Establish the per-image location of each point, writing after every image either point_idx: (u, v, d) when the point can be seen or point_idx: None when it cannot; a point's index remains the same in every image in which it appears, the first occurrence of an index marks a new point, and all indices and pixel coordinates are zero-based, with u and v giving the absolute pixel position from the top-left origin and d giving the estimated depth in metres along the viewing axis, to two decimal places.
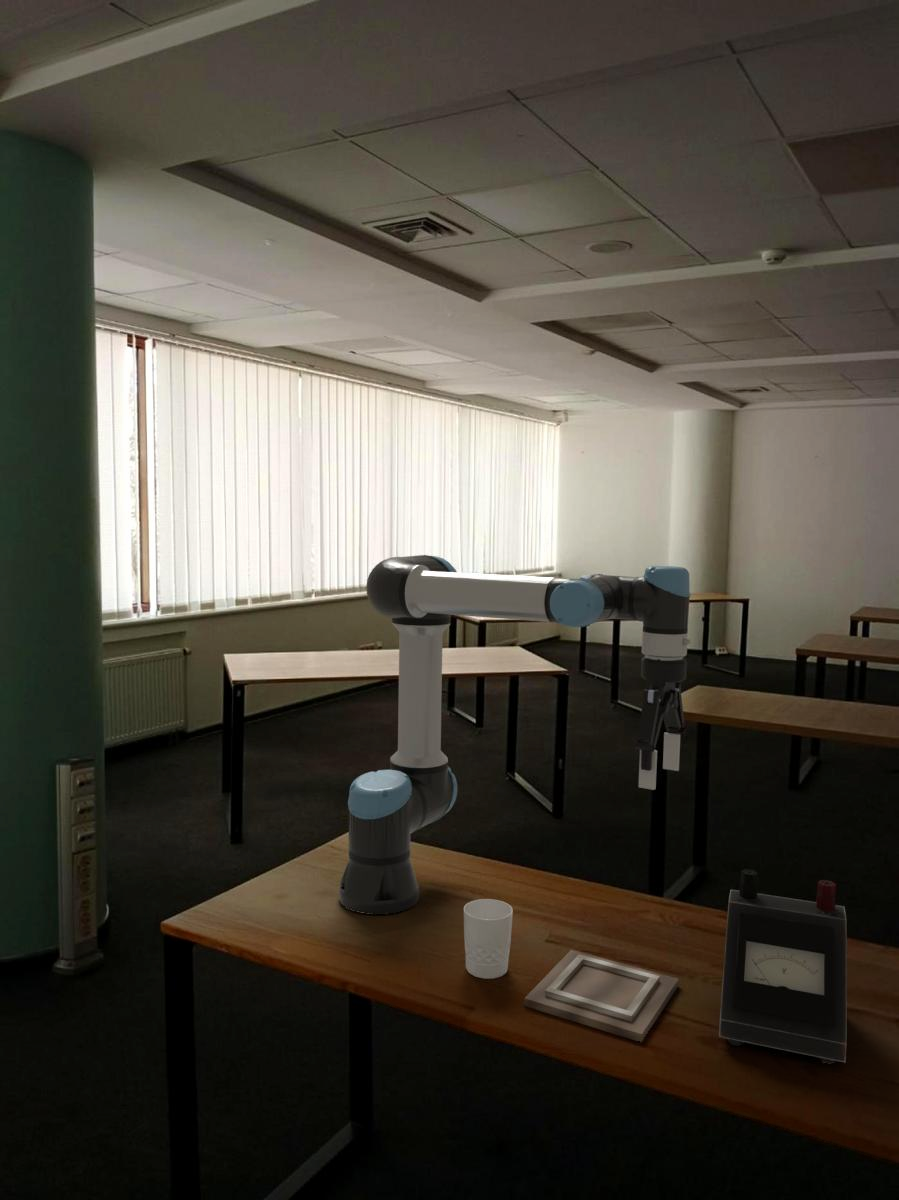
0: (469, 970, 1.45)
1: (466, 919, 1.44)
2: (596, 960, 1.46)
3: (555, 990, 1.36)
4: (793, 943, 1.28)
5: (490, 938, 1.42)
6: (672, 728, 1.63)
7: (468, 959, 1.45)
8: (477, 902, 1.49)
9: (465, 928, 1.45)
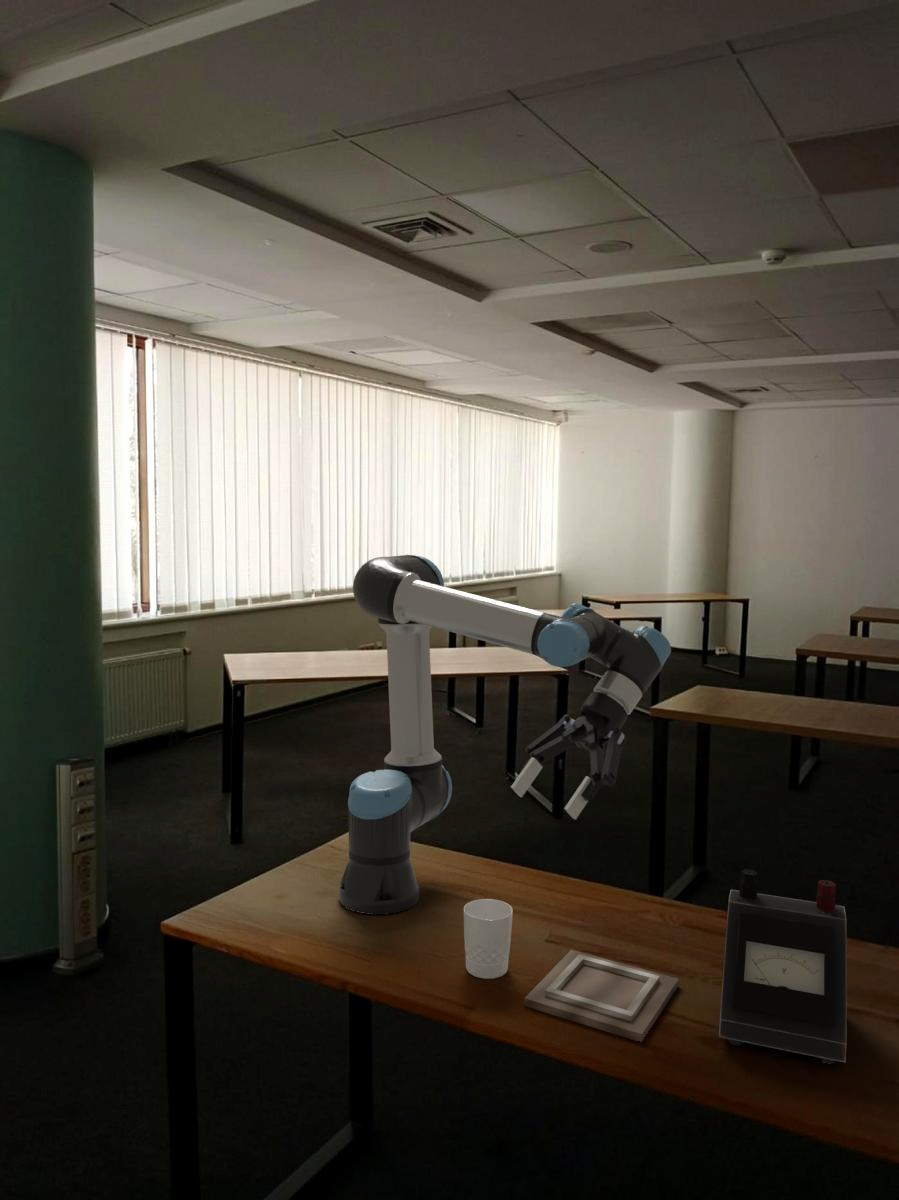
0: (469, 970, 1.45)
1: (466, 919, 1.44)
2: (596, 960, 1.46)
3: (555, 990, 1.36)
4: (793, 943, 1.28)
5: (490, 938, 1.42)
6: (538, 757, 1.59)
7: (468, 959, 1.45)
8: (477, 902, 1.49)
9: (465, 928, 1.45)
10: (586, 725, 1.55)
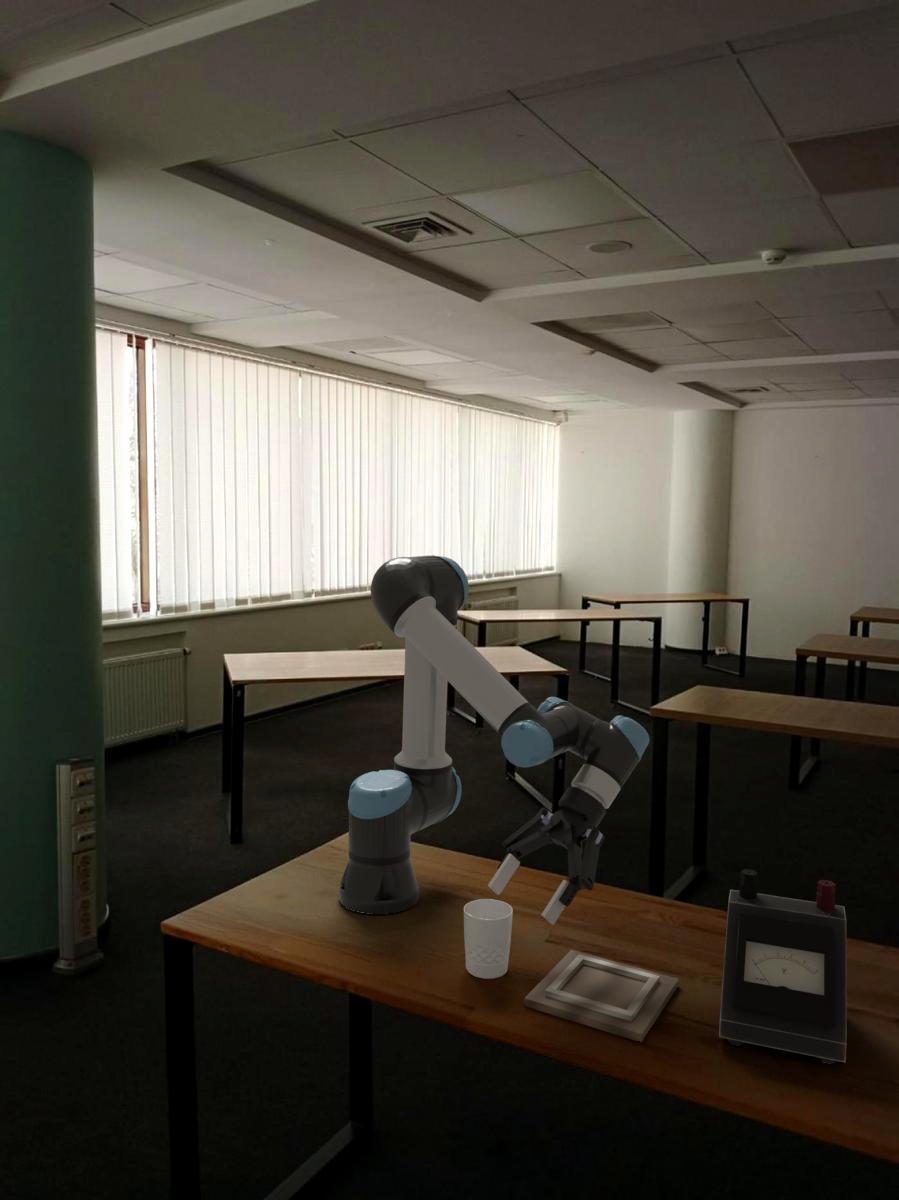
0: (469, 970, 1.45)
1: (466, 919, 1.44)
2: (596, 960, 1.46)
3: (555, 990, 1.36)
4: (793, 943, 1.28)
5: (490, 938, 1.42)
6: (515, 852, 1.56)
7: (468, 959, 1.45)
8: (477, 902, 1.49)
9: (465, 928, 1.45)
10: (564, 821, 1.53)
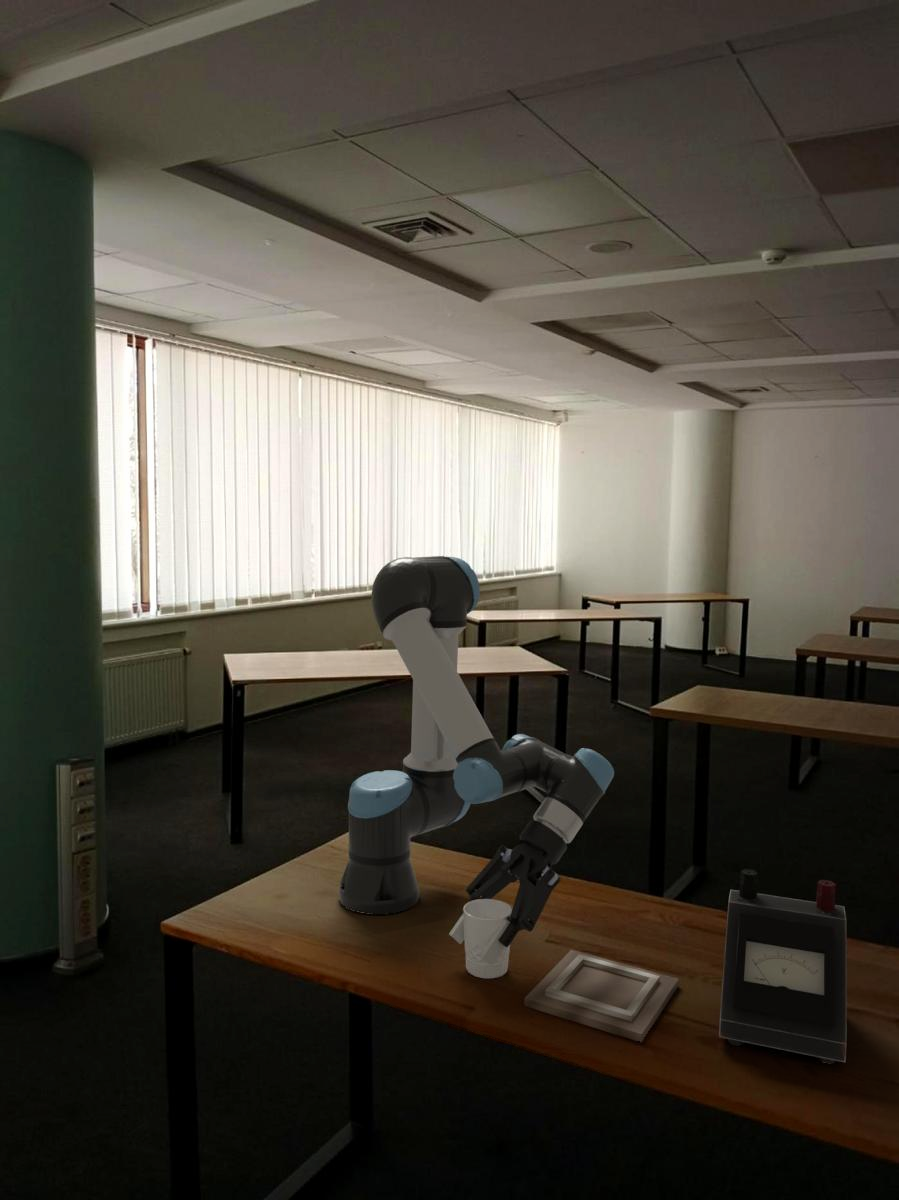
0: (469, 970, 1.45)
1: (466, 919, 1.44)
2: (596, 960, 1.46)
3: (555, 990, 1.36)
4: (793, 943, 1.28)
5: (490, 938, 1.42)
6: None
7: (468, 959, 1.45)
8: (476, 901, 1.49)
9: (465, 928, 1.45)
10: (526, 852, 1.50)
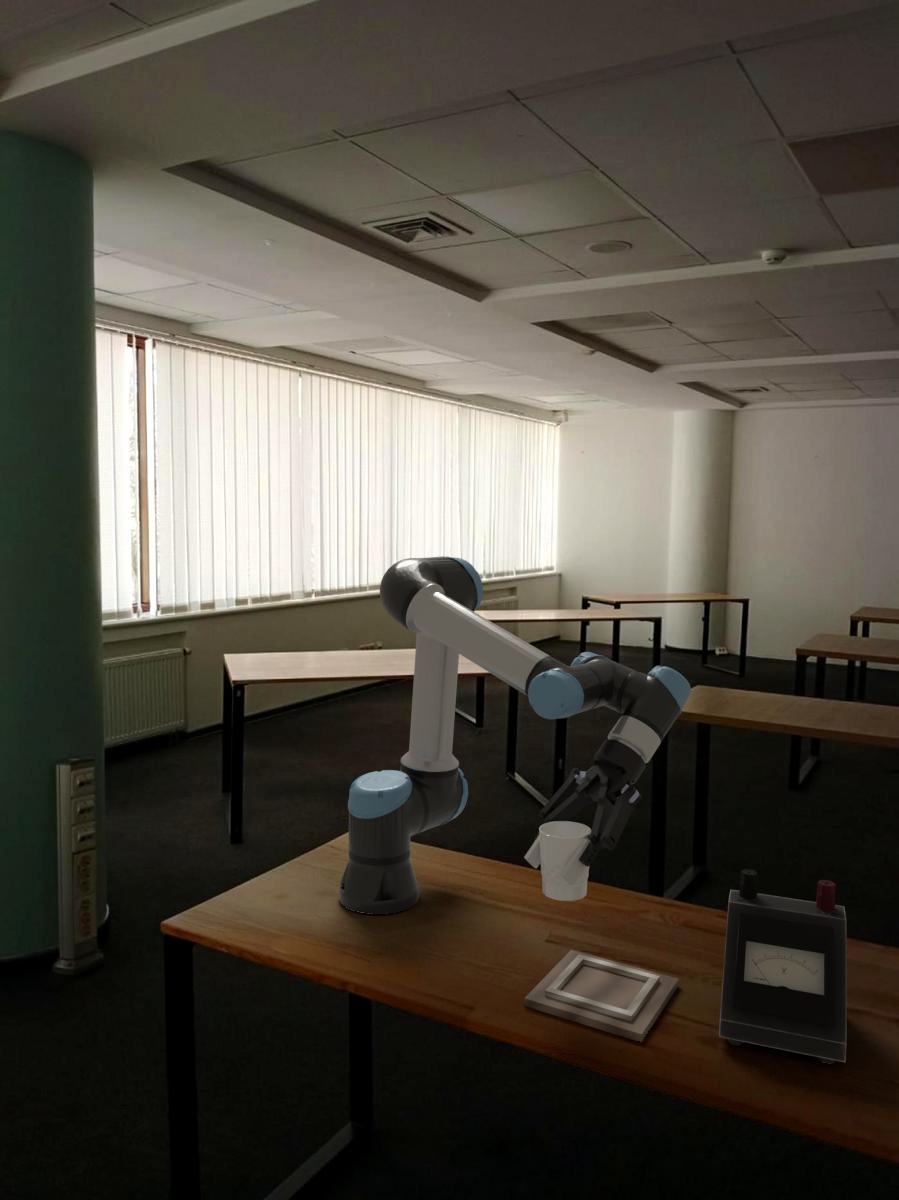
0: (547, 893, 1.38)
1: (543, 839, 1.37)
2: (596, 960, 1.46)
3: (555, 990, 1.36)
4: (793, 943, 1.28)
5: (570, 857, 1.35)
6: None
7: (545, 882, 1.38)
8: (551, 824, 1.42)
9: (542, 849, 1.38)
10: (602, 772, 1.43)
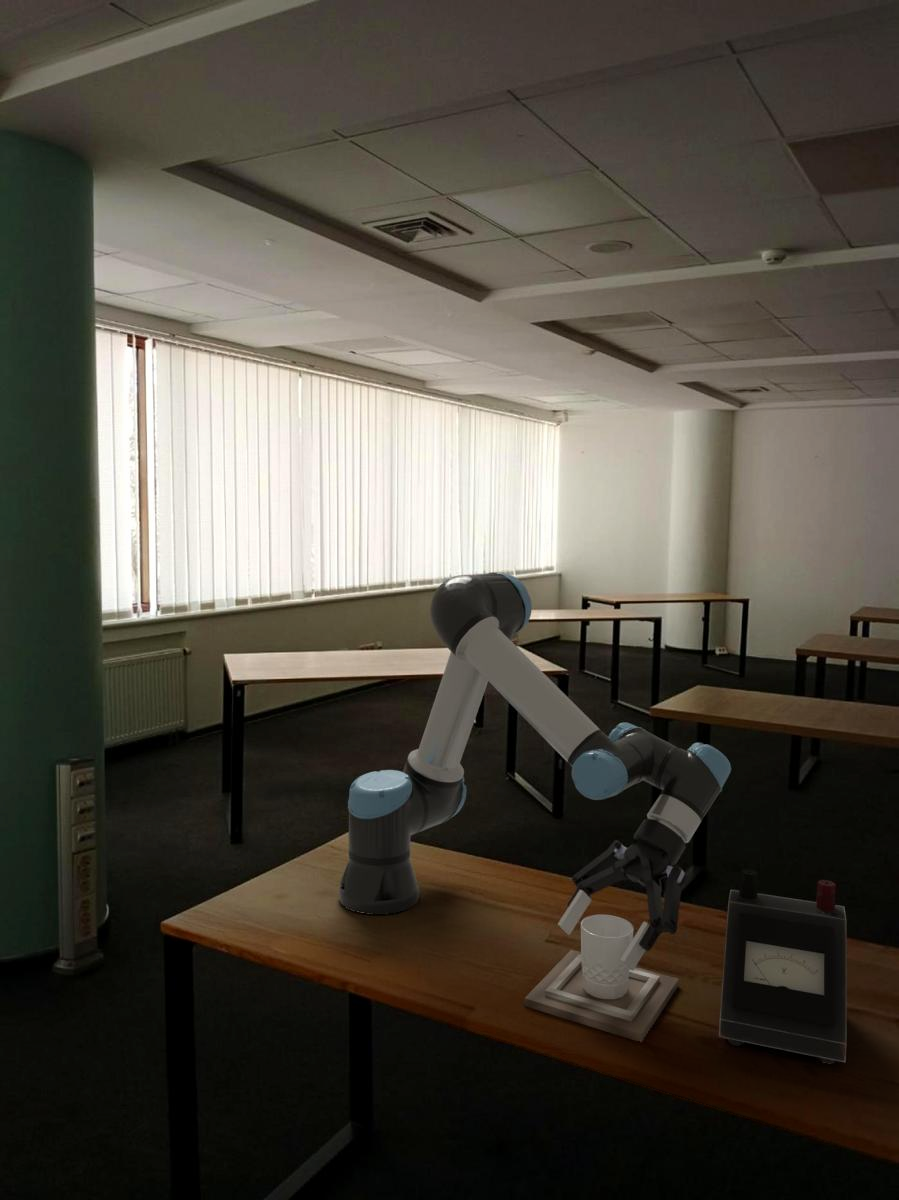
0: (587, 990, 1.37)
1: (585, 937, 1.36)
2: None
3: (555, 990, 1.36)
4: (793, 943, 1.28)
5: (612, 957, 1.34)
6: (586, 888, 1.45)
7: (586, 978, 1.37)
8: (592, 917, 1.41)
9: (583, 946, 1.37)
10: (640, 856, 1.42)
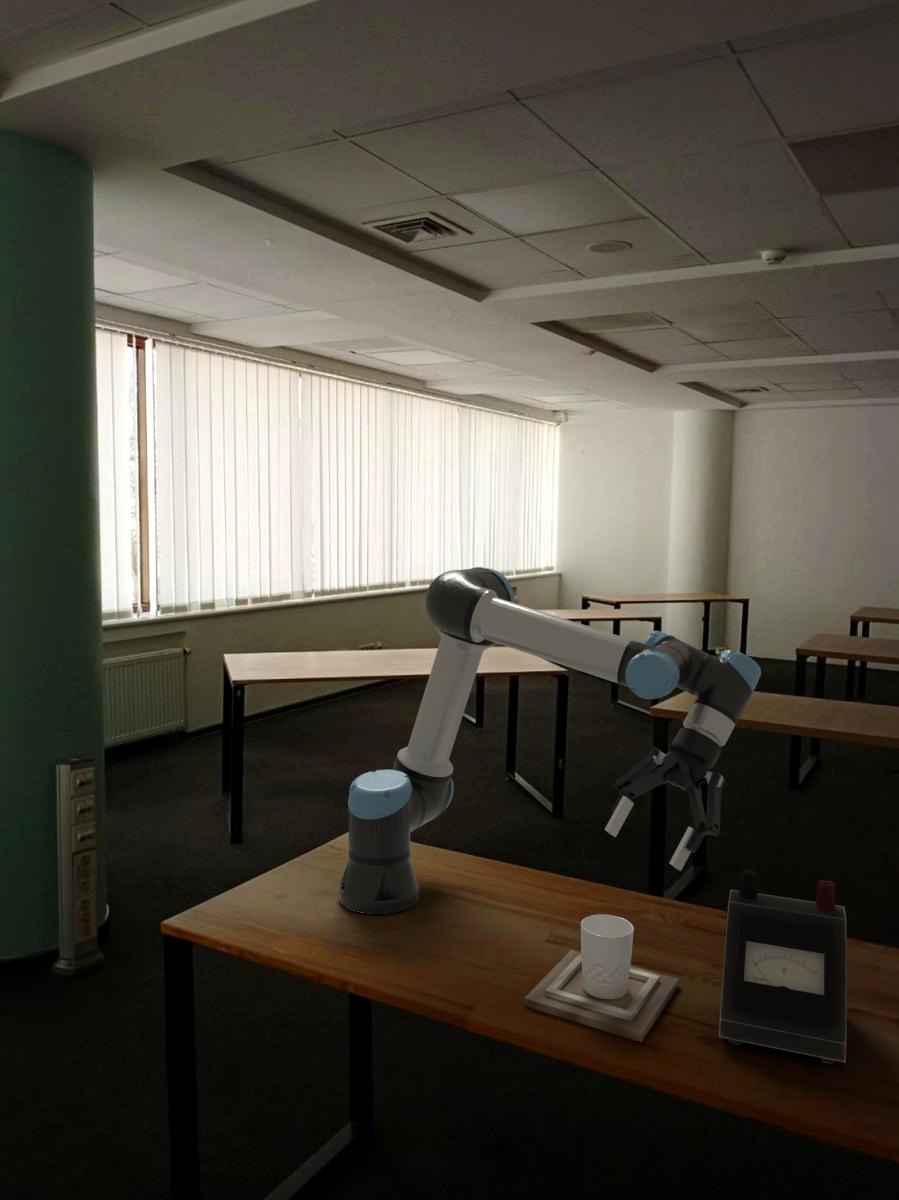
0: (587, 990, 1.37)
1: (585, 936, 1.36)
2: None
3: (555, 990, 1.36)
4: (793, 943, 1.28)
5: (612, 956, 1.34)
6: (629, 794, 1.54)
7: (586, 978, 1.37)
8: (593, 917, 1.41)
9: (583, 945, 1.37)
10: (679, 763, 1.50)
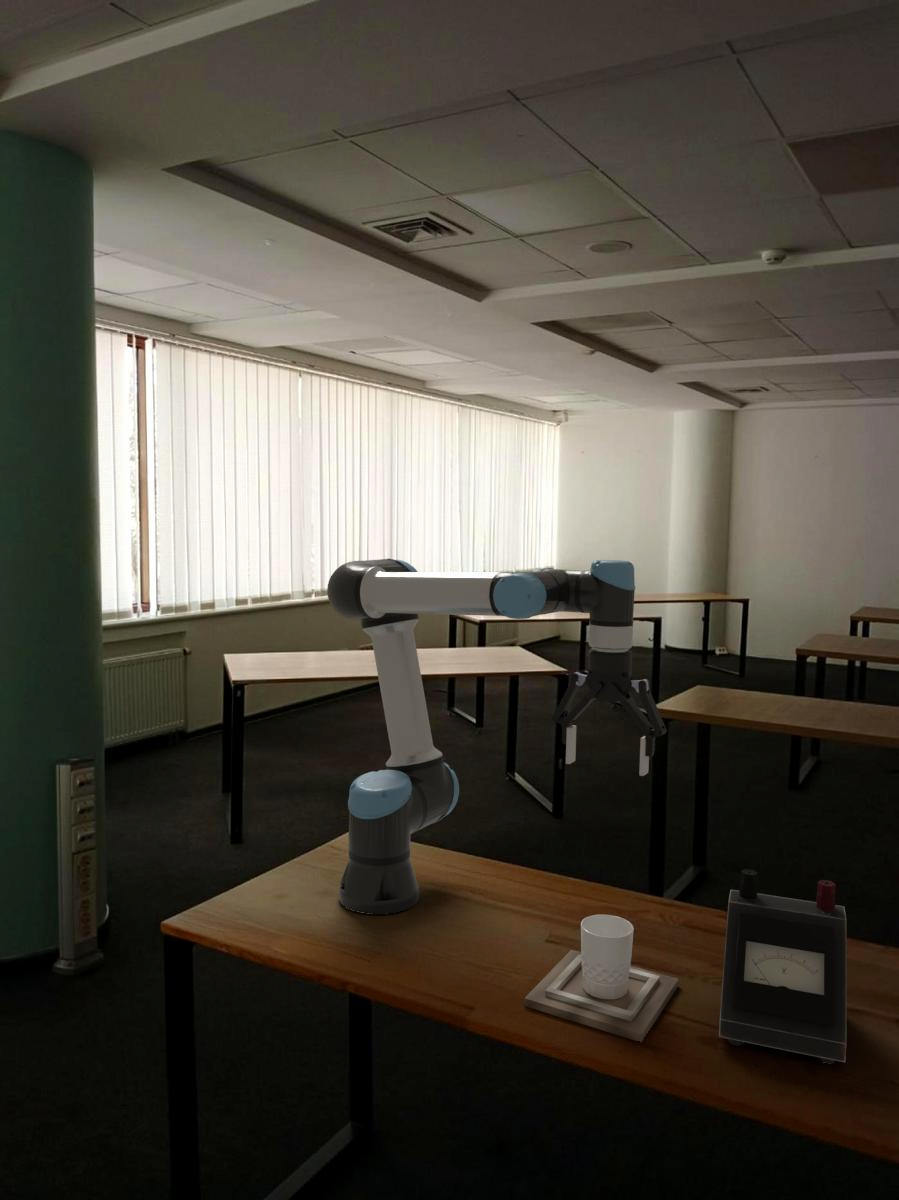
0: (587, 990, 1.37)
1: (585, 936, 1.36)
2: None
3: (555, 990, 1.36)
4: (793, 943, 1.28)
5: (612, 957, 1.34)
6: None
7: (586, 978, 1.37)
8: (593, 917, 1.41)
9: (583, 946, 1.37)
10: (603, 682, 1.58)
